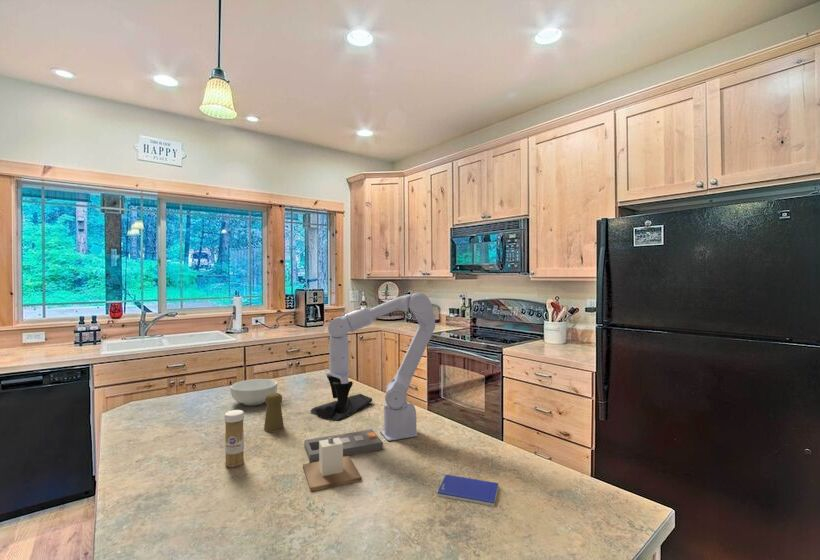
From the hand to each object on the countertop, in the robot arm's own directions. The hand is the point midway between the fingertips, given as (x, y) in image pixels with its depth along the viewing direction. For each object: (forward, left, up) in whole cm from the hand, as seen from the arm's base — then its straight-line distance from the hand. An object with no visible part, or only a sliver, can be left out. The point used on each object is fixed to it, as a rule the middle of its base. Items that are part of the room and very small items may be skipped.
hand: (339, 401), depth 121 cm
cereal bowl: (+23, -44, -11) cm, 51 cm away
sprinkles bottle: (+29, +7, -11) cm, 32 cm away
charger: (+7, +22, -10) cm, 25 cm away
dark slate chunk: (-7, -23, -11) cm, 27 cm away
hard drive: (-20, +42, -11) cm, 48 cm away
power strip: (+1, +9, -10) cm, 14 cm away
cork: (+18, -14, -11) cm, 25 cm away
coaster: (+7, +22, -10) cm, 25 cm away
